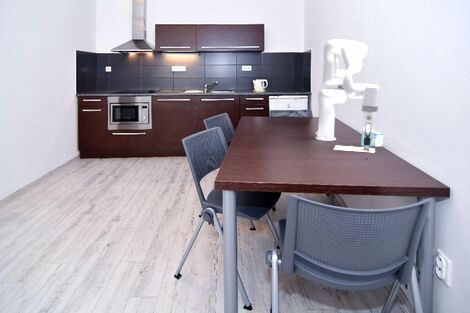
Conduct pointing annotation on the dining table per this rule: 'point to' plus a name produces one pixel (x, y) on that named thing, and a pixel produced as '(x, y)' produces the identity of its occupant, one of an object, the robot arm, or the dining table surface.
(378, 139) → the medicine box
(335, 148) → the base board
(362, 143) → the pale aqua block
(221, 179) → the dining table surface
